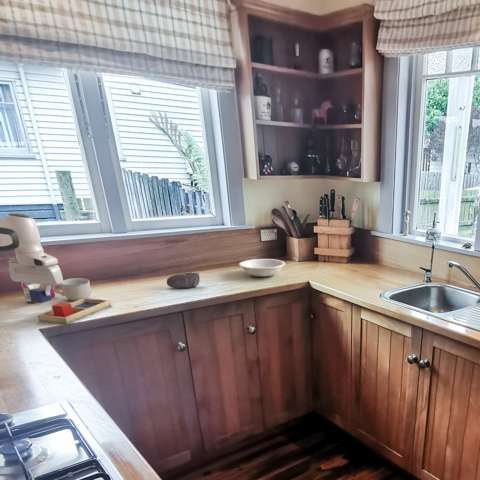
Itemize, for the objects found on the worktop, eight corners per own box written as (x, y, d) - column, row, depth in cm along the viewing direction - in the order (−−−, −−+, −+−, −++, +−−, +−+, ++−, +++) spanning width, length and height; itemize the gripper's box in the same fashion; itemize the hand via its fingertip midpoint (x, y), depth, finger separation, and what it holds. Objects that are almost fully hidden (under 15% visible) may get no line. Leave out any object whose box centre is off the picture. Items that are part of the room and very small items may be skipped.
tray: (38, 321, 176) (37, 315, 175) (85, 303, 197) (84, 298, 196) (66, 324, 174) (65, 317, 173) (111, 306, 195) (109, 300, 194)
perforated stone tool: (167, 290, 219) (164, 275, 216) (168, 287, 224) (165, 272, 221) (200, 288, 224) (198, 274, 221) (200, 285, 228) (199, 271, 225)
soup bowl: (270, 268, 265) (270, 257, 263) (294, 276, 250) (293, 264, 247) (232, 274, 251) (230, 262, 248) (254, 283, 235) (253, 270, 232)
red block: (54, 316, 178) (51, 305, 176) (63, 313, 182) (60, 302, 180) (64, 317, 177) (61, 306, 175) (73, 314, 181) (70, 303, 179)
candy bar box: (36, 303, 196) (25, 264, 188) (25, 302, 196) (14, 263, 189) (56, 296, 206) (46, 258, 199) (46, 295, 206) (35, 258, 199)
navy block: (31, 301, 180) (28, 290, 178) (41, 299, 184) (38, 287, 183) (41, 302, 180) (39, 291, 178) (51, 300, 184) (48, 289, 182)
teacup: (95, 294, 209) (91, 277, 206) (90, 301, 200) (86, 283, 196) (60, 296, 205) (55, 278, 202) (53, 303, 196) (48, 285, 192)
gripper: (0, 258, 174) (10, 294, 180) (48, 262, 171) (57, 298, 177) (15, 255, 180) (24, 290, 186) (61, 259, 177) (69, 294, 183)
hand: (40, 294), depth 181 cm, fingers closed on navy block, 4 cm apart
